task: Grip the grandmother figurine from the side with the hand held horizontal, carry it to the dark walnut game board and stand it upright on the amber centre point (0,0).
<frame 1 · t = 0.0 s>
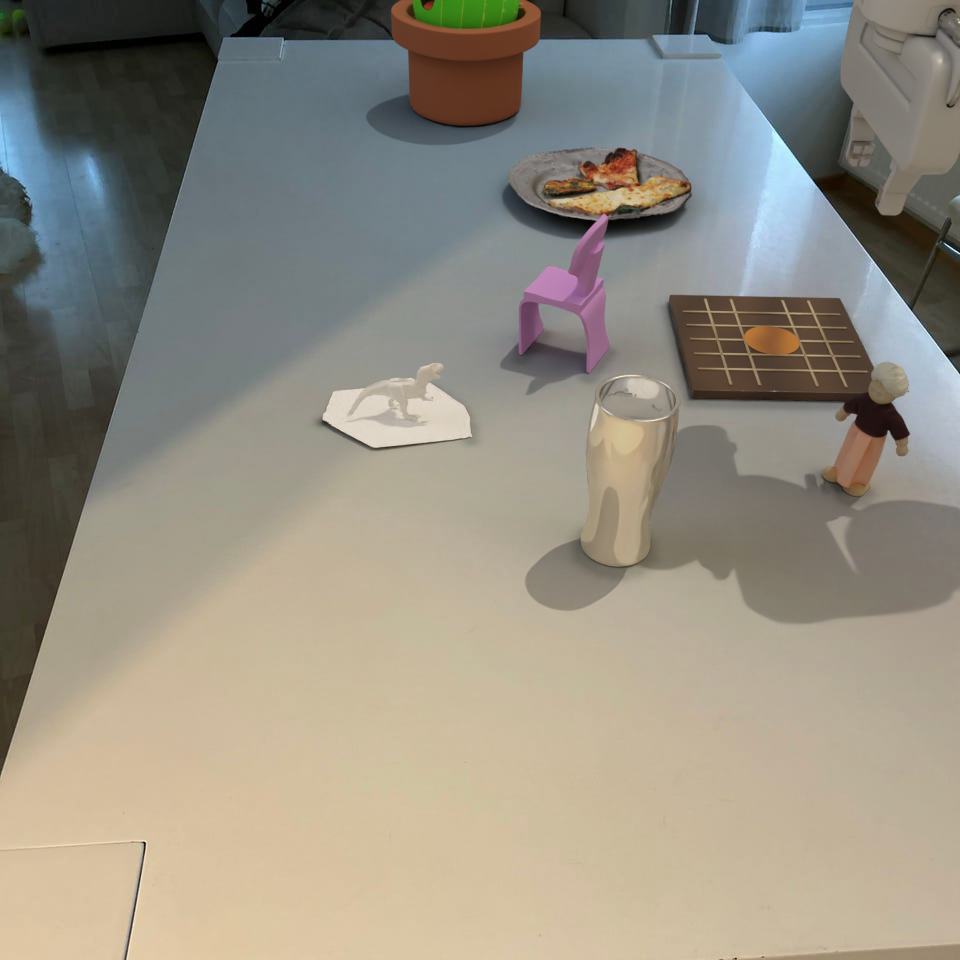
hand: (871, 186, 81), 24 cm above the table, tool pointing down, fingers open, 8 cm apart
food plate: (598, 198, 135), on the table
beer glass: (614, 545, 86), on the table
game board: (769, 349, 109), on the table
grandmother figurine: (849, 486, 92), on the table
potted cactus: (465, 108, 157), on the table
dinosaur figurine: (400, 416, 99), on the table
toy chair: (562, 351, 108), on the table
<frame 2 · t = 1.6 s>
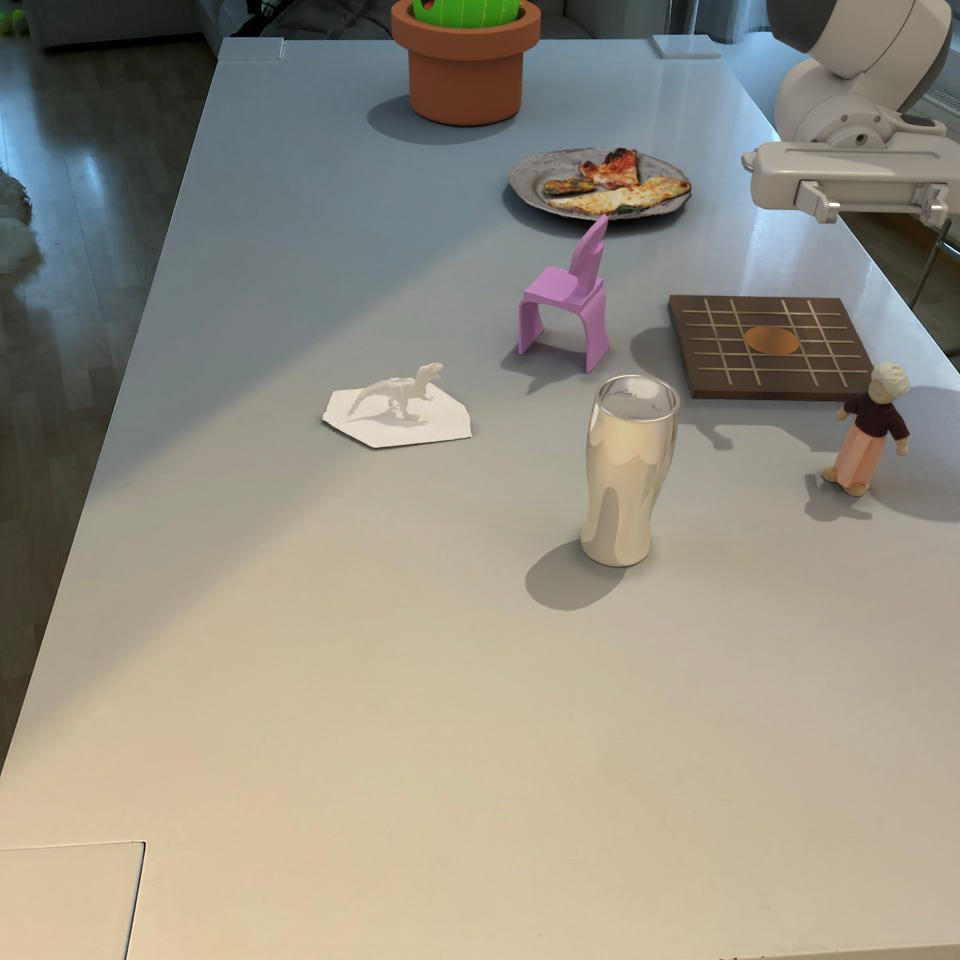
hand: (883, 216, 86), 20 cm above the table, tool horizontal, fingers open, 8 cm apart
nothing on the table moved.
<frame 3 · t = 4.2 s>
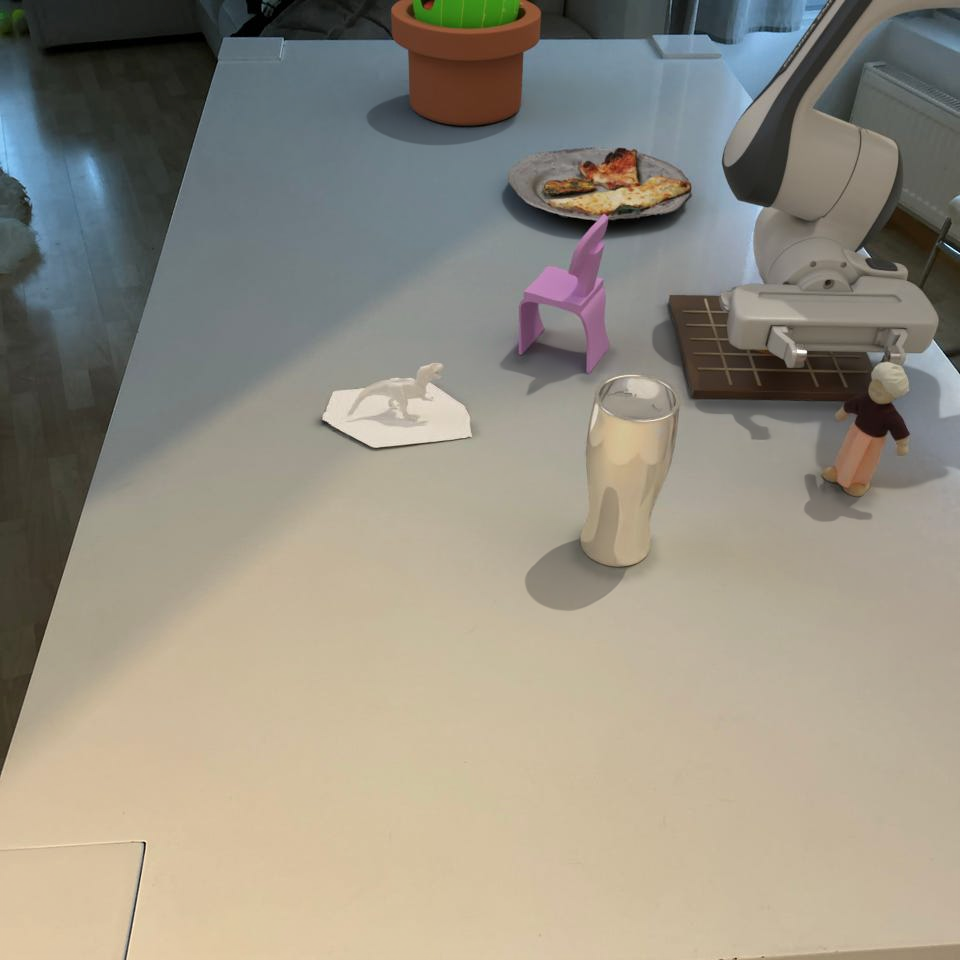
hand: (847, 362, 93), 7 cm above the table, tool horizontal, fingers open, 8 cm apart
nothing on the table moved.
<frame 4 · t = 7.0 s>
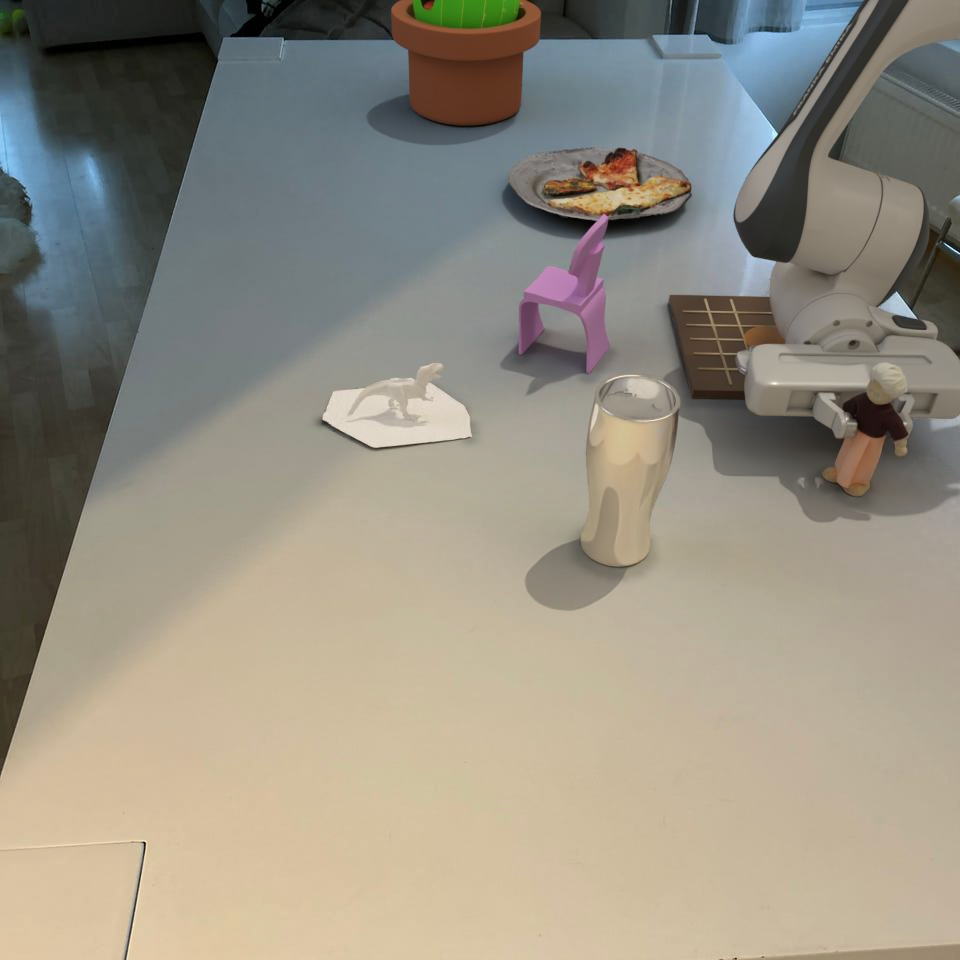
hand: (875, 432, 87), 7 cm above the table, tool horizontal, fingers closed on grandmother figurine, 3 cm apart
grandmother figurine: (850, 486, 92), on the table, touching gripper
everything else where it was.
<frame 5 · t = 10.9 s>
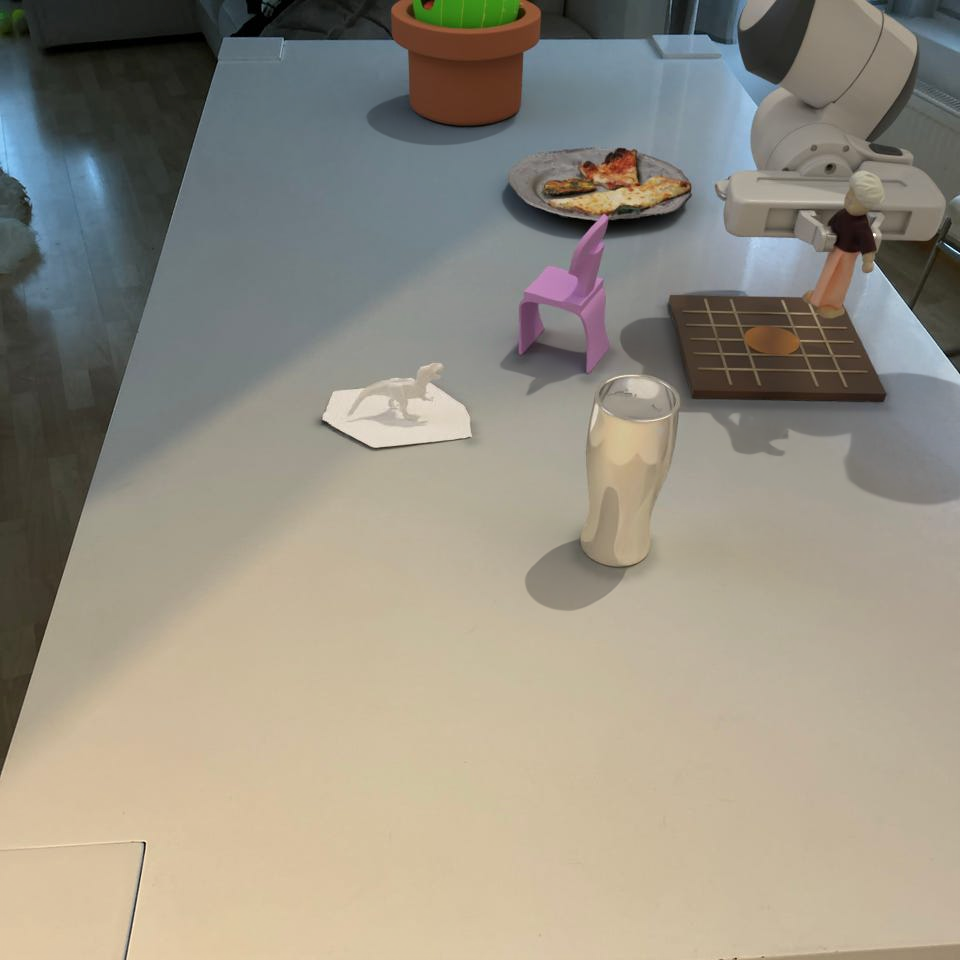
hand: (850, 245, 89), 17 cm above the table, tool horizontal, fingers closed on grandmother figurine, 3 cm apart
grandmother figurine: (825, 311, 94), point 10 cm above the table, touching gripper
everything else where it was.
when the fingers open (8 cm above the table, at t = 15.0 s): grandmother figurine stays where it is, resting on game board.
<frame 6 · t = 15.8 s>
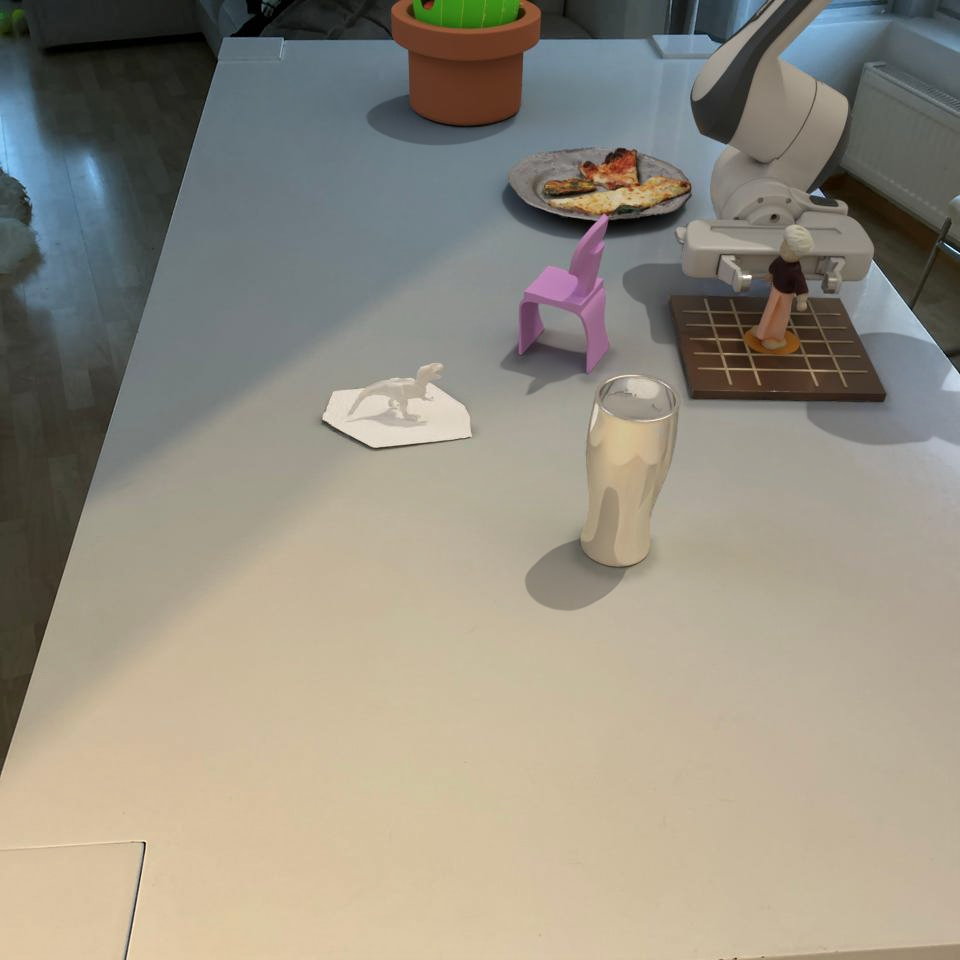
hand: (788, 286, 102), 8 cm above the table, tool horizontal, fingers open, 8 cm apart
grandmother figurine: (769, 343, 108), point 1 cm above the table, touching game board
everything else where it was.
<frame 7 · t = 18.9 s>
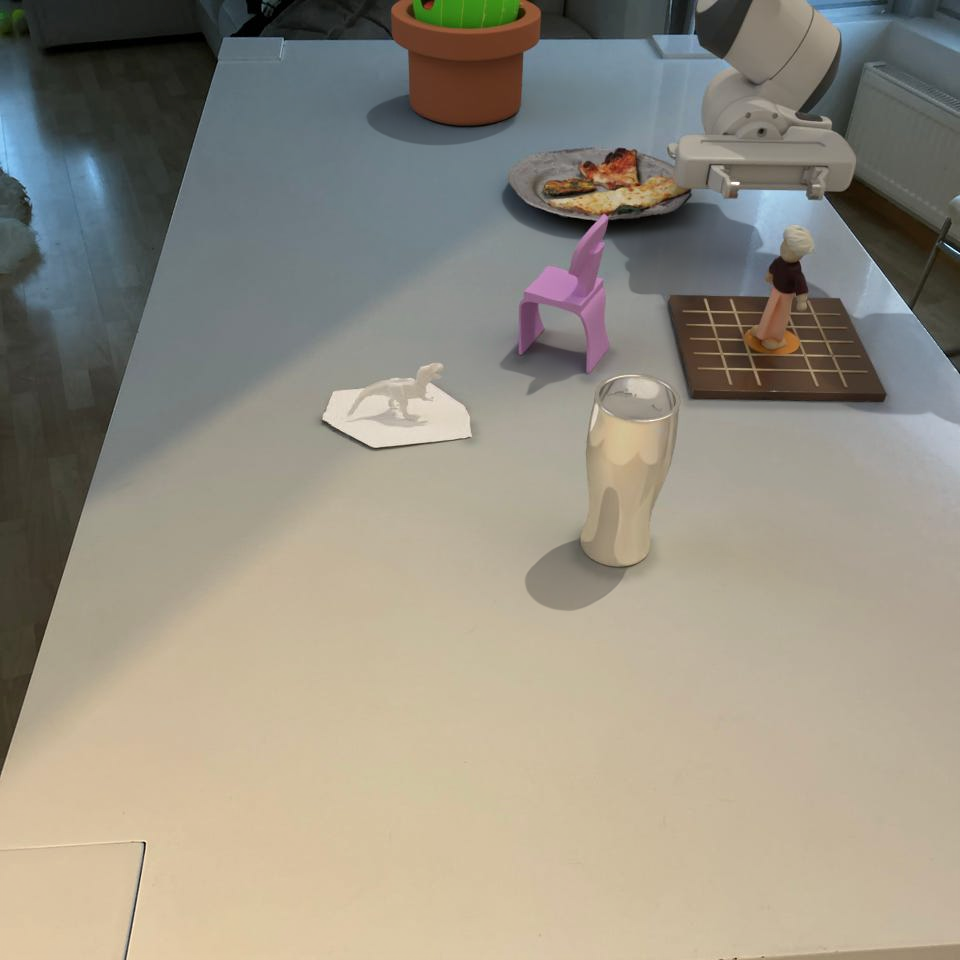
hand: (774, 192, 108), 12 cm above the table, tool horizontal, fingers open, 8 cm apart
nothing on the table moved.
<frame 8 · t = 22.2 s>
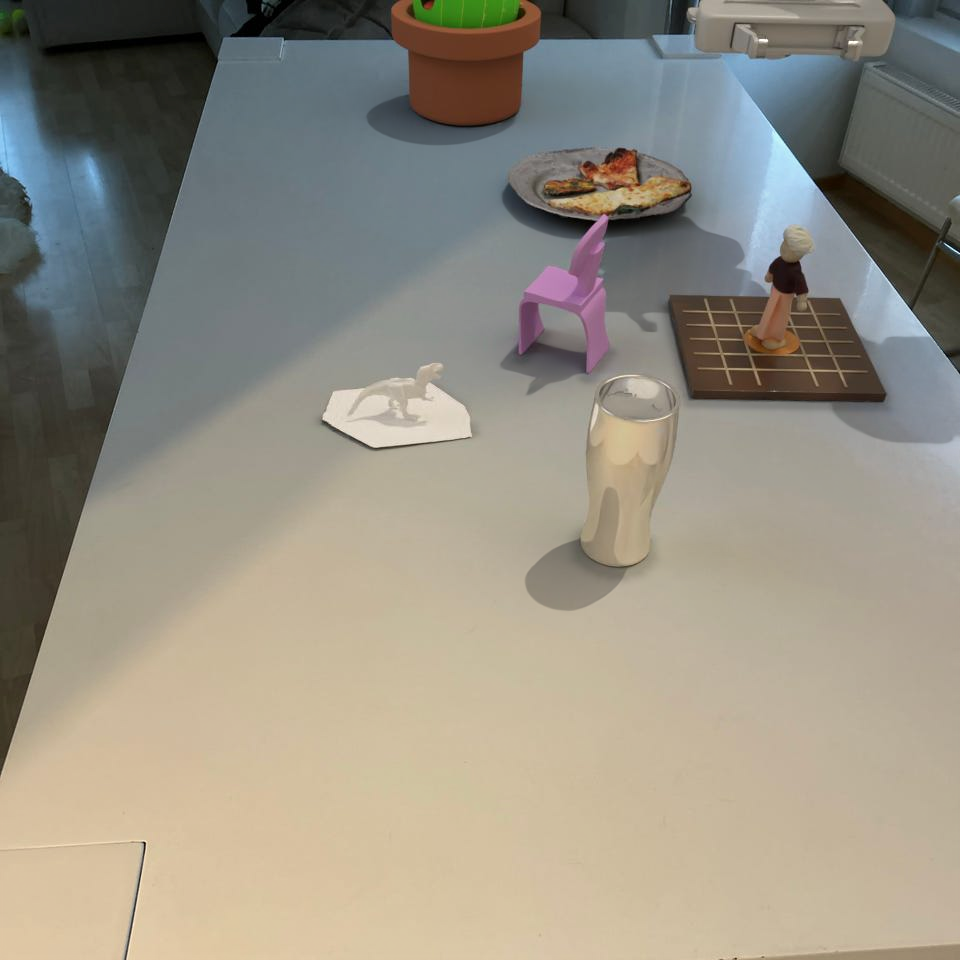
hand: (806, 51, 98), 26 cm above the table, tool horizontal, fingers open, 8 cm apart
nothing on the table moved.
at the end: grandmother figurine 0.4 cm off-centre on the game board, point 0.9 cm above the game board's base; grandmother figurine tilted 0°; the gripper is holding nothing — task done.
